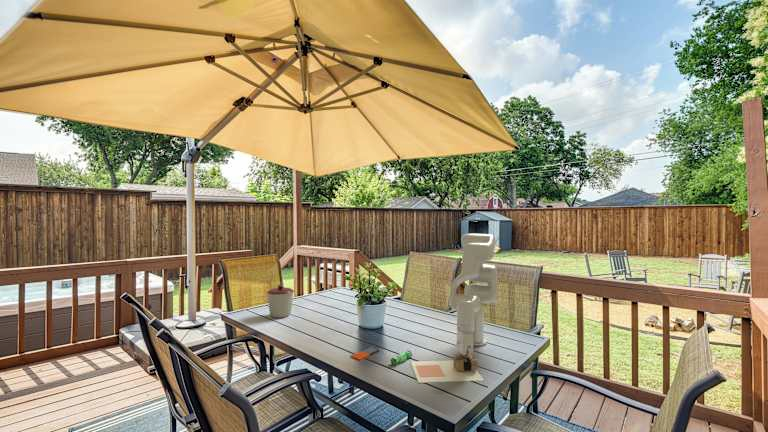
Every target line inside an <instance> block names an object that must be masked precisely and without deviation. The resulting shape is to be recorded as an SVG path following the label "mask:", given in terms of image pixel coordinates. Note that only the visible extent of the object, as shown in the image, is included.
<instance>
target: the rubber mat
mask: <svg viewBox="0 0 768 432" xmlns="http://www.w3.org/2000/svg"><path fill="white" fill-rule="evenodd" d="M410 365H411V367H412V370H413V372H414V375H415V377H416V380H417V383H418V384H427V383H446V382H447V383H448V382H470V381H472V382H474V381H475V382H476V381H485V379H484V378H483V376H482V375H481V374H480V373H479V371H478V369H477V370H469V371H457V370H456V368H455V366H454V359H452V360H451V359H450V360H428V361H427V360H426V361H425V360H422V361H421V360H420V361H419V360H417V361H410Z"/></svg>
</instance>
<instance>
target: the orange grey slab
mask: <svg viewBox="0 0 768 432" xmlns="http://www.w3.org/2000/svg"><path fill="white" fill-rule="evenodd" d="M379 352H380V350H379V349H376V348H375V347H373V346H372V347H371V346H370V347H367V348H365V349H363V350H361V351H359V352H356V353H354V354H352V355H350V358H351V359H354V360H356V361H359V362H361V361H362V360H364V359H367V358H369V357H371V356H372V355H375V354H377V353H379Z"/></svg>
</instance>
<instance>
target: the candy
mask: <svg viewBox="0 0 768 432" xmlns="http://www.w3.org/2000/svg"><path fill="white" fill-rule="evenodd" d="M412 357H413V354H412V352H411V351H410V350H408V349H407V350H405V352H401V353H399V354H398V355H397V356H395V357H391V358H390V363H391V365H395V366H397V365H398V364H401V363H403V362H404V361H406V360H407V358H408V359H410V358H412Z"/></svg>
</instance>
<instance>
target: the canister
mask: <svg viewBox="0 0 768 432" xmlns="http://www.w3.org/2000/svg"><path fill="white" fill-rule="evenodd" d="M294 292H295V290H294V289H293V288H290V287H284V285H283V284H278V285H277V287H275V288H274V287H273V288H271V289H269V290H268V291H266V292H265V293H266V295H267V302H268V310H269V315H270V316H271V317H272V318H275V319H276V318H277V319H282V318H287V317H289V316H290V315H291V313H292V309H293V308H292V307H293V299H294Z"/></svg>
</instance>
